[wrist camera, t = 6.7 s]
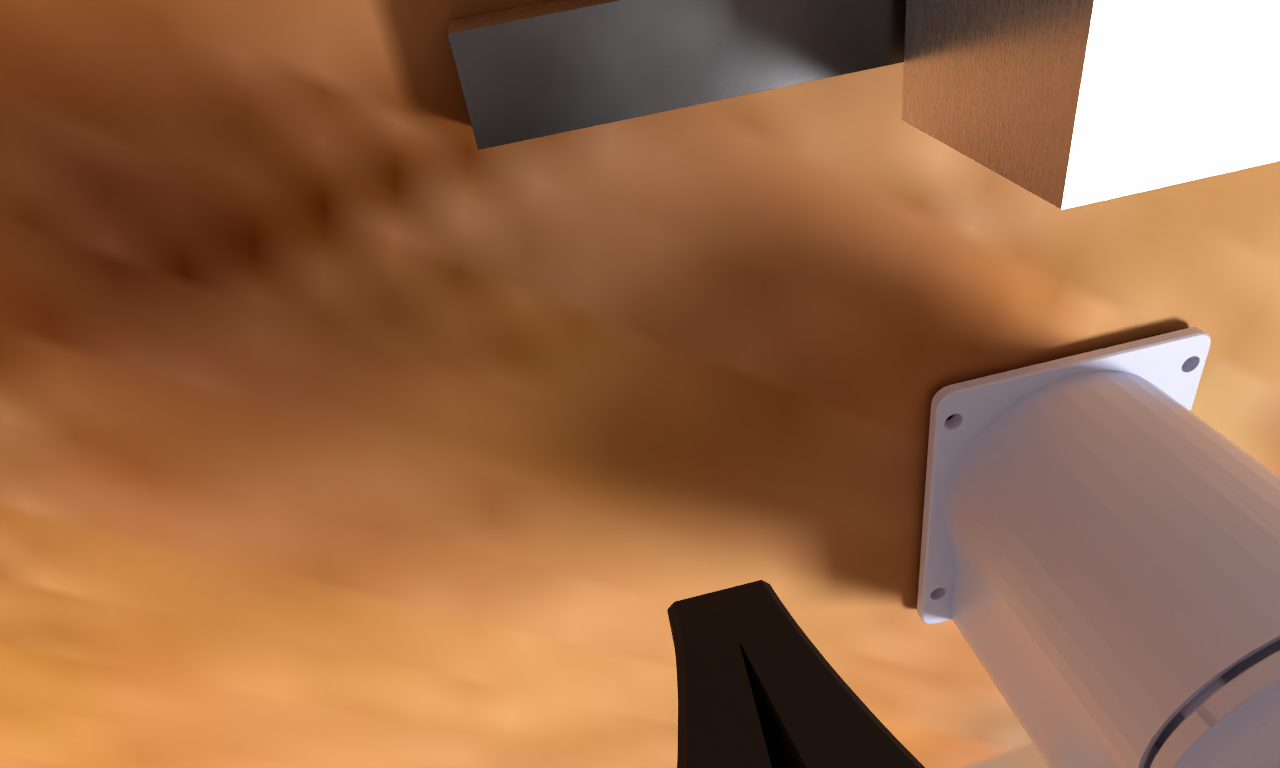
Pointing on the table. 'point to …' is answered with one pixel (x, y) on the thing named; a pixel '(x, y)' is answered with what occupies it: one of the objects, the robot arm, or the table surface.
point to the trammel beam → (654, 56)
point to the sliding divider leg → (1097, 89)
